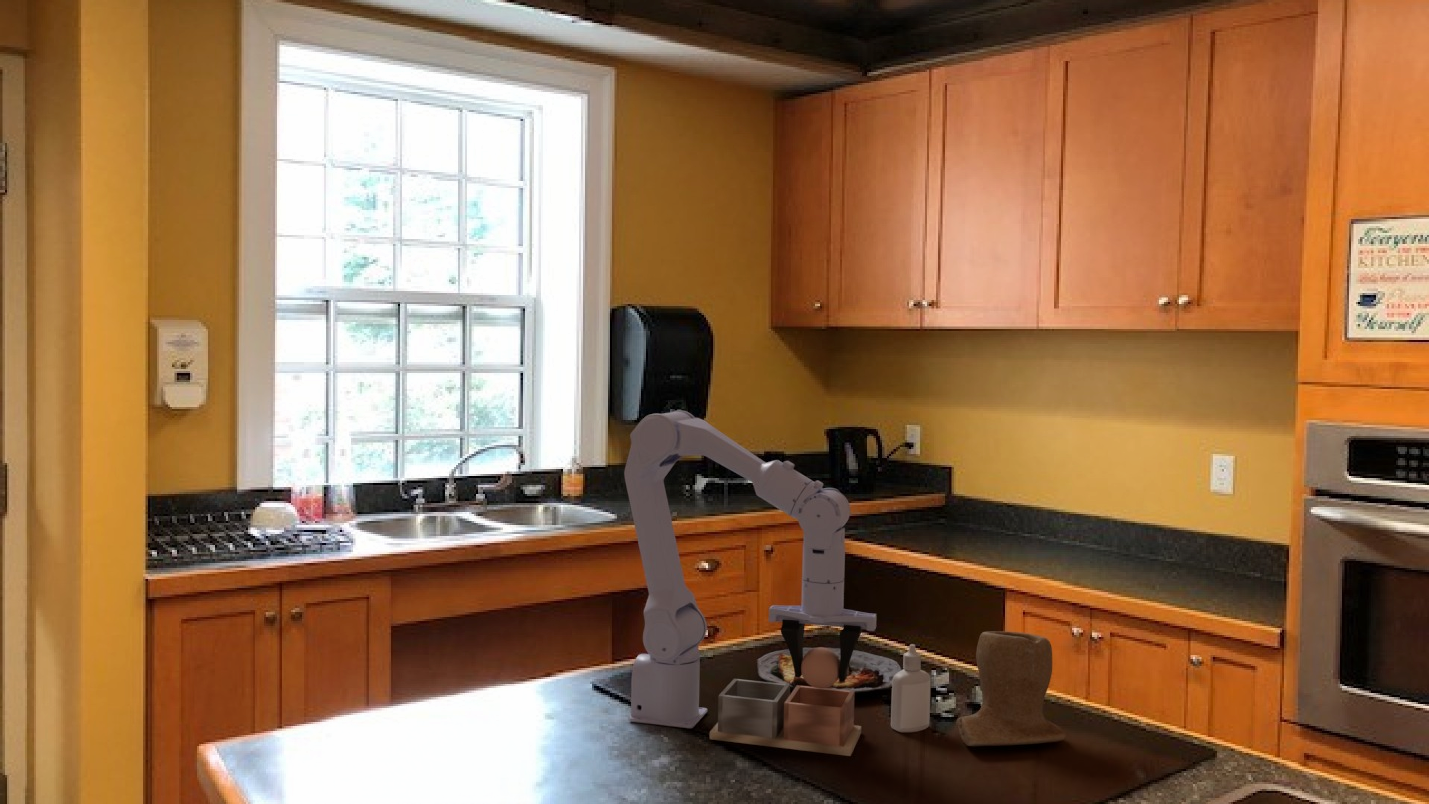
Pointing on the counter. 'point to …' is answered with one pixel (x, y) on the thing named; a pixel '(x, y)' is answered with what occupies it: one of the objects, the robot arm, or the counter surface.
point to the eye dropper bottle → (910, 695)
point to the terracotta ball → (820, 667)
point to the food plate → (872, 677)
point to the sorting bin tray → (787, 717)
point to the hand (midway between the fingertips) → (820, 677)
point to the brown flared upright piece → (1011, 692)
